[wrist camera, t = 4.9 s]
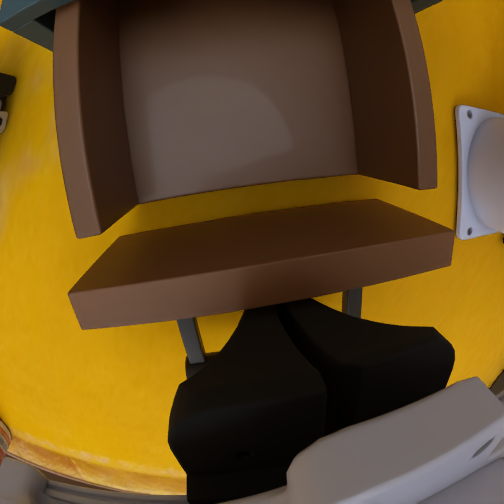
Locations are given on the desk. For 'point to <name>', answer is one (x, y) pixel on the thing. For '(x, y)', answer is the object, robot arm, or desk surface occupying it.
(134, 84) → the drawer
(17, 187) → the desk surface
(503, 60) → the desk surface
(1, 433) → the pill bottle
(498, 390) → the mug
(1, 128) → the push button
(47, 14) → the cabinet
